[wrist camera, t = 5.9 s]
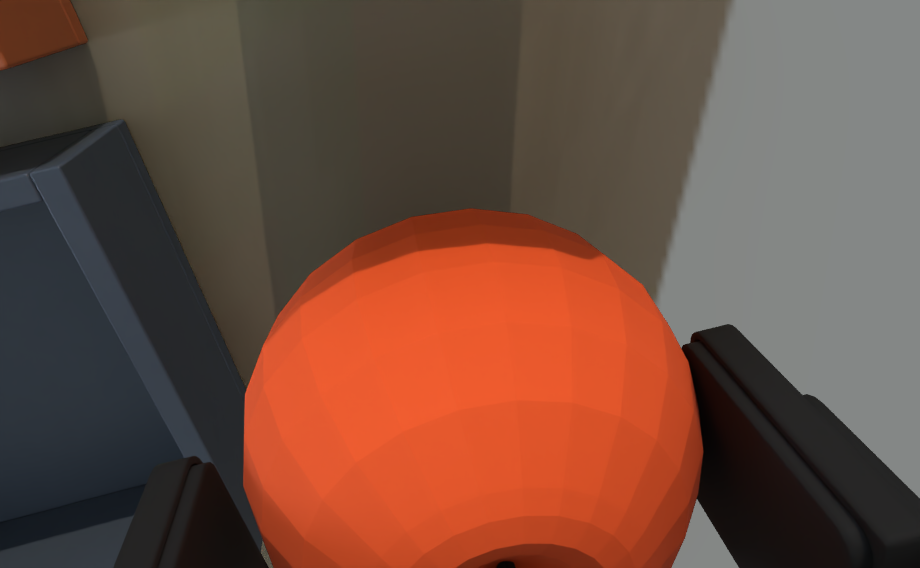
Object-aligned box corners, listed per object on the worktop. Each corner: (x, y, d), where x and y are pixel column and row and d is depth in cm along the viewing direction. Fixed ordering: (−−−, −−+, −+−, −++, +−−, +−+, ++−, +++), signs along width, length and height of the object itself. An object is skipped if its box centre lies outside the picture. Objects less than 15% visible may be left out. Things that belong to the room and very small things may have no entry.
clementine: (408, 514, 16) (443, 888, 9) (161, 360, 13) (-25, 759, 6) (667, 305, 14) (920, 599, 8) (450, 68, 11) (579, 234, 5)
